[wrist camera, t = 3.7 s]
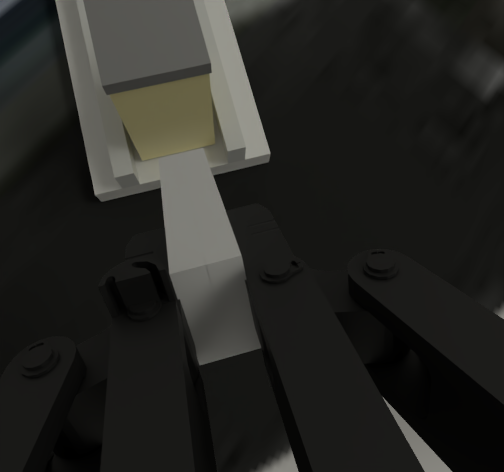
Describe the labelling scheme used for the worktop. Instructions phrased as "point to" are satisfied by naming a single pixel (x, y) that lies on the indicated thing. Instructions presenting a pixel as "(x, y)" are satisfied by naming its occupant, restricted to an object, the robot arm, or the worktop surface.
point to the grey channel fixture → (114, 131)
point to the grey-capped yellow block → (155, 72)
